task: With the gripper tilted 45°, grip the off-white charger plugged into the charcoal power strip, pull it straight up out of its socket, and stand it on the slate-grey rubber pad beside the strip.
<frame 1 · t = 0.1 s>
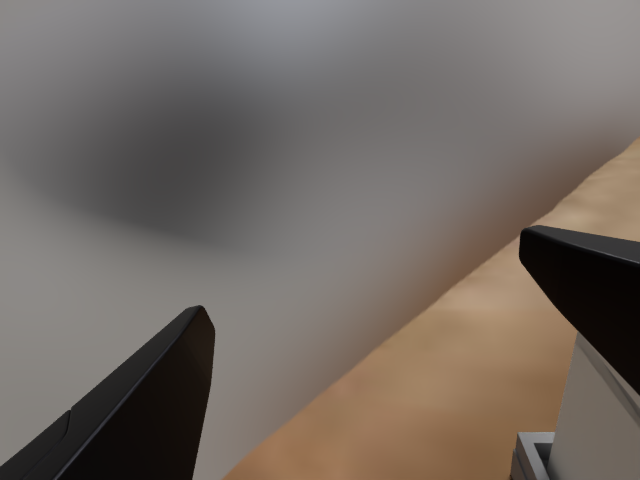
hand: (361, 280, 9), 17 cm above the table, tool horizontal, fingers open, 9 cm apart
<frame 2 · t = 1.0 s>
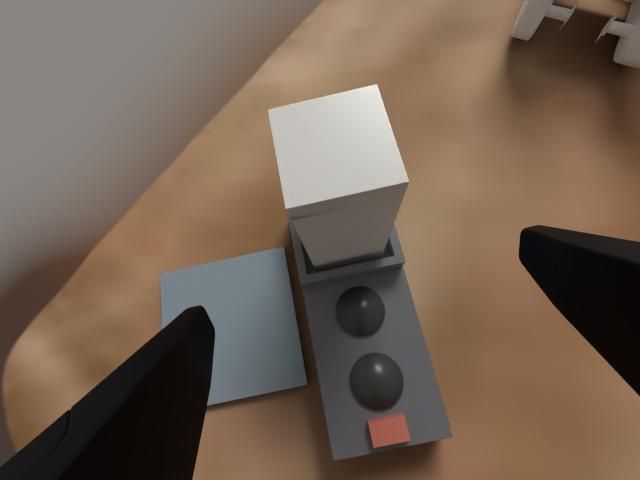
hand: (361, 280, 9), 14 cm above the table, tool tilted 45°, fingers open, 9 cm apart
cable organizer: (584, 11, 28), on the table
charger: (341, 232, 21), point 2 cm above the table, touching power strip
power strip: (357, 307, 22), on the table
rubber pad: (230, 325, 22), on the table
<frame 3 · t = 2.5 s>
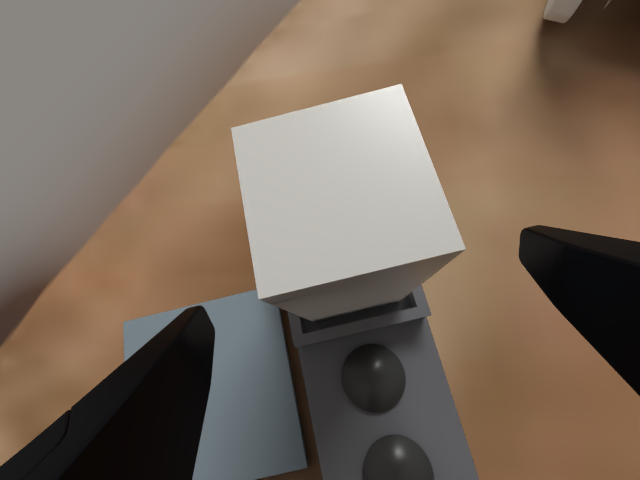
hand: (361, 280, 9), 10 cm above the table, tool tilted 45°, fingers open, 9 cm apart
charger: (345, 271, 17), point 2 cm above the table, touching power strip
power strip: (367, 362, 18), on the table
rubber pad: (209, 387, 18), on the table
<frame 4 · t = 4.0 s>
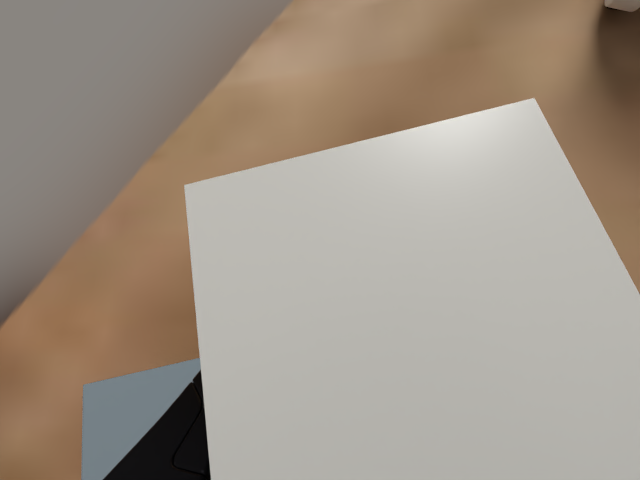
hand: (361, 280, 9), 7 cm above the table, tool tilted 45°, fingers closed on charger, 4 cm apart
charger: (367, 333, 13), point 2 cm above the table, touching gripper, power strip
rubber pad: (190, 474, 14), on the table
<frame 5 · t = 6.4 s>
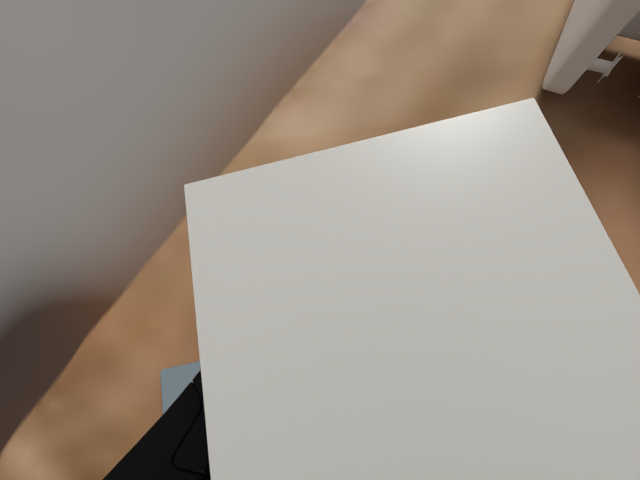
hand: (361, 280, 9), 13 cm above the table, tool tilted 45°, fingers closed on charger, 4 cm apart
cable organizer: (622, 55, 26), on the table
charger: (367, 333, 13), point 9 cm above the table, touching gripper
rubber pad: (239, 431, 20), on the table
when the fingers open (7 cm above the table, at t = 9.0 s): charger drops 2 cm, resting on rubber pad.
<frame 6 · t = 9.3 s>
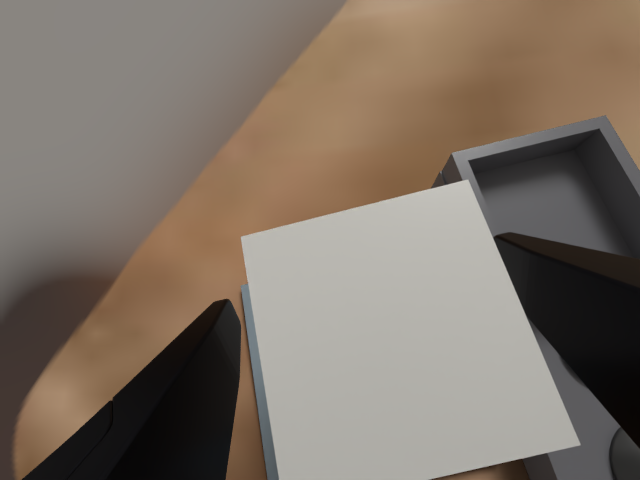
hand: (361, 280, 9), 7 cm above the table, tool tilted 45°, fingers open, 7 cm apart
charger: (365, 332, 15), resting on rubber pad
power strip: (554, 332, 14), on the table
rubber pad: (355, 362, 15), on the table
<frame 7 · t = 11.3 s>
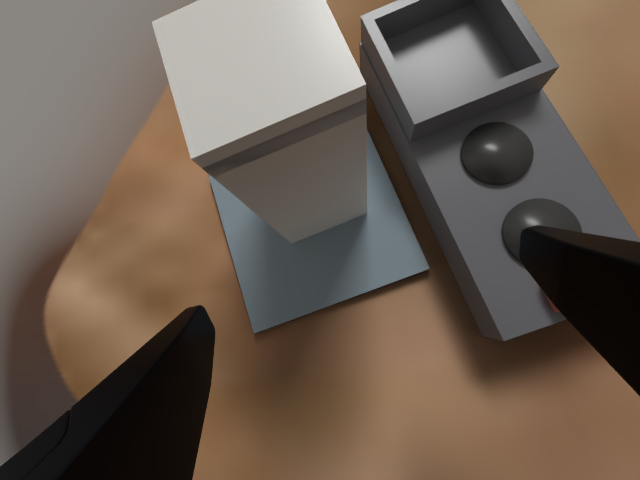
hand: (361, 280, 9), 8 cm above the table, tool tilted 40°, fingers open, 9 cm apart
charger: (315, 193, 17), resting on rubber pad
power strip: (472, 168, 17), on the table
rubber pad: (310, 219, 18), on the table
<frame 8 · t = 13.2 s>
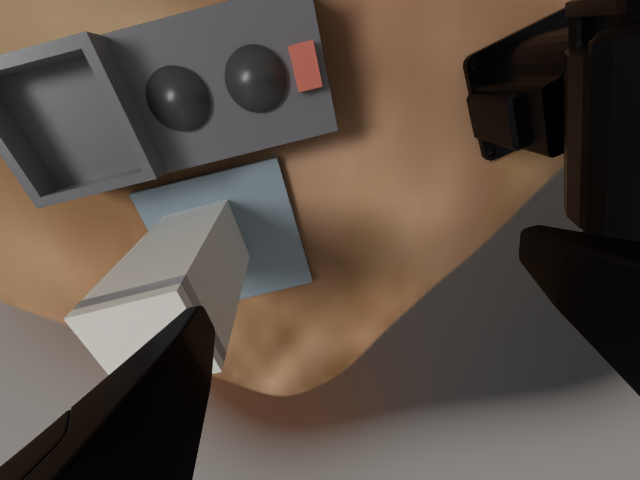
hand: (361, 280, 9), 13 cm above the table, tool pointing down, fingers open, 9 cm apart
charger: (208, 237, 21), resting on rubber pad
power strip: (184, 99, 18), on the table
rubber pad: (230, 240, 22), on the table
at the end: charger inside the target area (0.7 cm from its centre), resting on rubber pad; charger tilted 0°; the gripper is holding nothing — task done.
